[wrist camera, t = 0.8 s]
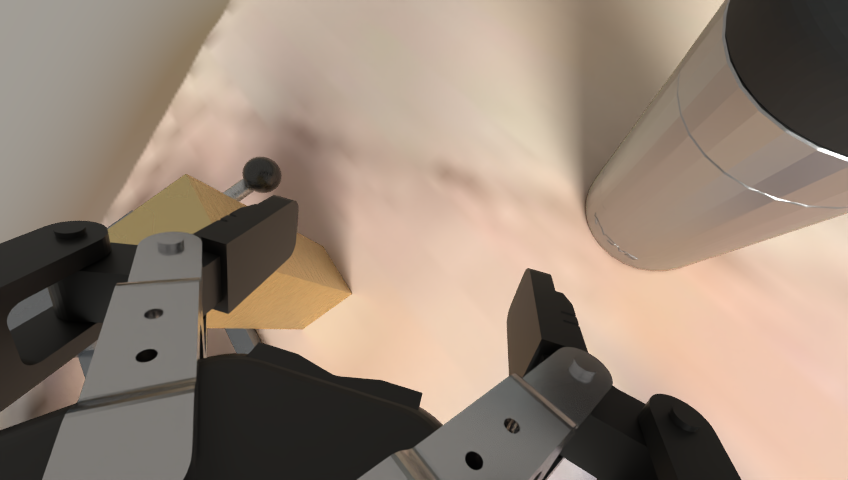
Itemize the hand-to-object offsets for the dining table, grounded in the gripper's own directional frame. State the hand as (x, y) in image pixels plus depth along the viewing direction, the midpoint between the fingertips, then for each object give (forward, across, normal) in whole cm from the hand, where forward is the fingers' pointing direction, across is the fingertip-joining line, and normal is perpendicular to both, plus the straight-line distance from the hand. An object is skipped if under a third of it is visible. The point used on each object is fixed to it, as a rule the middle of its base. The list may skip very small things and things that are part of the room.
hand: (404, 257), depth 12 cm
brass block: (+13, +8, +13) cm, 20 cm away
